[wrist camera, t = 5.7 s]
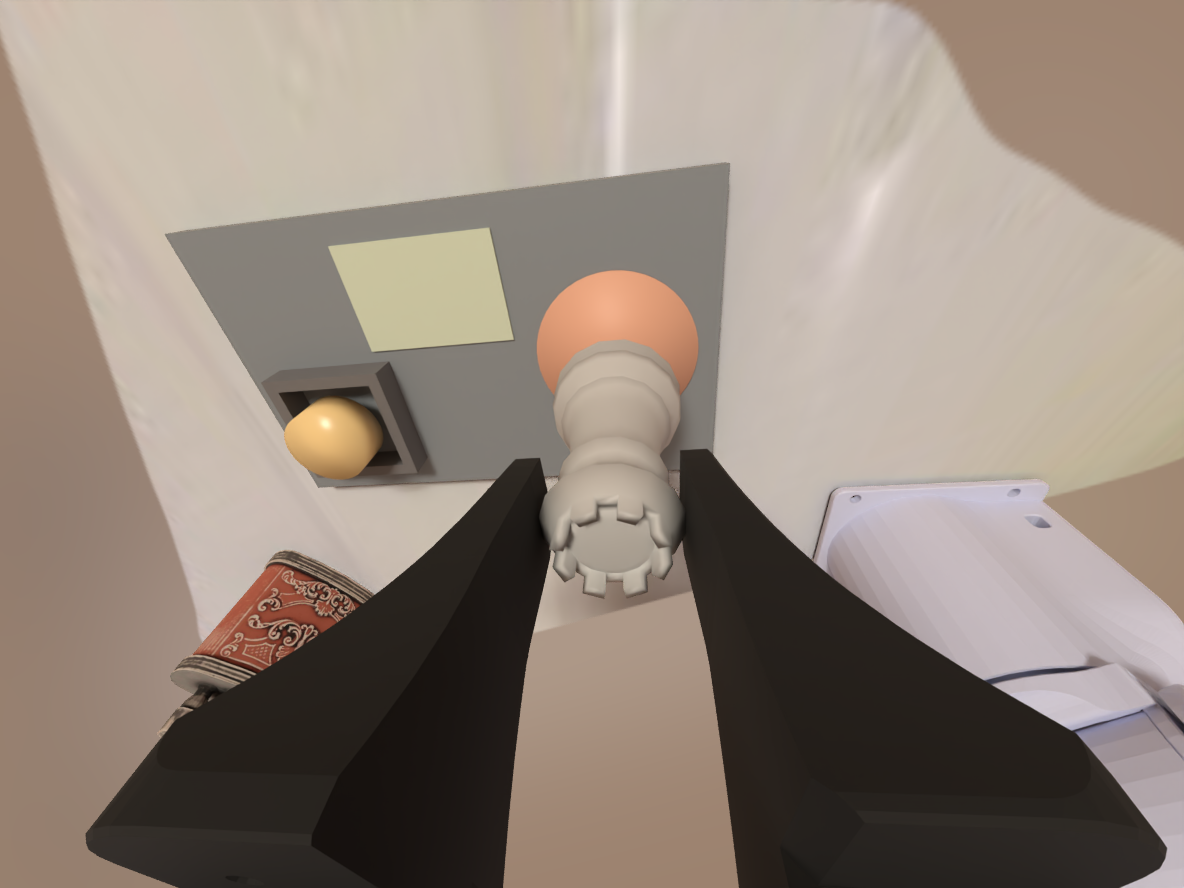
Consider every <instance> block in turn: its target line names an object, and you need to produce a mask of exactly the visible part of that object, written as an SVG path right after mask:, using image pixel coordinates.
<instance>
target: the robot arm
mask: <svg viewBox="0 0 1184 888" xmlns="http://www.w3.org/2000/svg"><path fill="white" fill-rule="evenodd" d="M1049 488H1050V487H1049V485H1048V484H1047V483H1045V482H1044V481H1043V480H1041V479H1023V480H999V481H976V482H953V483H929V484H906V485H883V486H859V487H842V488H838V489H836V490H835V491H834V492H833V493H832V494H831V497H830V501H829V505H828V508H827V512H826V516H825V520H824V523H823V527H822V531H821V534H820V538H819V542H818V546H817V549H816V553H815V557H814V560H813V561H812V560H811V559H810V558H809V557H807V556H806V555H805V554H804V553H803V552H802V551H801V550H800V549H798V548H797V547H796V546H795V545H794V544H793V543H792V542H791V541H790V540H789V539H788V538H787V537H786V536H785V535H784V534H783V533H782V532H781V531H779V530H778V529H777V528H776V527H775V526H774V525H773V524H772V523H771V522H770V521H769V520H768V519H767V518H766V516H765V515H764V514H763V513H762V512H761V511H760V510H759V509H758V508H757V507H756V506H755V505H754V504H753V503H752V501H751V500H750V499H749V498H748V497H747V496H746V495H745V494H744V493H743V491H742V490H741V489H740V488H739V487H738V486H737V484H736V483H735V482H734V481H733V480H732V478H731V477H730V476H729V475H728V473H727V472H726V471H725V470H724V468H723V467H722V466H721V465H720V463H719V462H718V461H717V459H716V458H715V457H714V455H713V454H712V452H710V451H709V450H708V449H692V450H680V501H681V503H682V505H683V506H684V508H685V510H686V534H685V536H684V537H683V539H682V541H683V549H684V556H685V560H686V564H687V569H688V573H689V577H690V581H691V586H692V590H693V594H694V598H695V602H696V606H697V611H698V615H699V619H700V623H701V627H702V632H703V636H704V640H705V644H706V649H707V654H708V660H709V664H710V671H711V678H712V685H713V692H714V699H715V705H716V713H717V720H718V727H719V735H720V741H721V749H722V756H723V764H724V772H725V779H726V787H727V795H728V802H729V810H730V817H731V826H732V834H733V842H734V850H735V858H736V866H737V874H738V883H739V888H1184V624H1183V623H1182V621H1181V620H1180V619H1179V617H1178V616H1177V615H1176V614H1175V613H1174V612H1173V611H1172V610H1171V608H1170V607H1169V606H1168V605H1167V604H1166V603H1164V602H1163V601H1162V600H1161V599H1160V598H1159V597H1158V596H1157V595H1156V594H1154V593H1153V592H1152V591H1151V590H1149V589H1148V588H1147V587H1146V586H1145V585H1144V584H1142V583H1141V582H1140V581H1139V580H1137V579H1136V578H1135V577H1133V576H1132V575H1131V574H1130V573H1129V572H1128V571H1127V570H1125V569H1124V568H1123V567H1122V566H1120V565H1119V564H1118V563H1117V562H1116V561H1114V560H1113V559H1112V558H1111V557H1109V556H1108V555H1107V554H1106V553H1105V552H1104V551H1102V550H1101V549H1100V548H1099V547H1098V546H1096V545H1095V544H1094V543H1092V542H1091V541H1090V540H1089V539H1088V538H1087V537H1085V536H1084V535H1083V534H1082V533H1081V532H1079V531H1078V530H1077V529H1076V528H1075V527H1073V526H1072V525H1071V524H1070V523H1068V522H1067V521H1066V520H1065V519H1064V518H1062V517H1061V516H1060V515H1059V514H1058V513H1056V512H1055V511H1054V510H1053V509H1052V508H1050V507H1049V506H1048V505H1047V504H1046V503H1044V502H1043V499H1044V497H1045V496H1046V494H1047V493H1048V491H1049ZM546 494H547V487H546V483H545V478H544V473H543V469H542V464H541V460H540V458H525V459H515V460H514V461H513V462H512V463H511V464H510V465H509V467H508V468H507V469H506V470H505V471H504V472H503V473H502V474H501V475H500V477H499V478H498V479H497V480H496V481H495V482H494V483H493V484H492V486H491V487H490V488H489V489H488V490H487V491H486V492H485V493H484V495H483V496H482V497H481V498H480V499H479V500H478V501H477V502H476V503H475V504H474V505H473V507H472V508H471V509H470V510H469V511H468V512H467V513H466V514H465V515H464V516H463V517H462V518H461V519H460V520H459V521H458V522H457V523H456V524H455V525H454V526H453V527H452V528H451V529H450V530H449V531H448V532H447V533H446V534H445V535H444V536H443V537H442V538H441V539H440V540H439V541H438V542H437V543H436V544H435V545H434V546H433V547H432V548H431V549H430V550H428V551H427V552H426V553H425V554H424V555H423V556H422V557H421V558H420V559H418V560H417V561H416V562H415V563H414V564H413V565H411V566H410V567H409V568H408V569H407V570H405V571H404V572H403V573H402V574H401V575H399V576H398V577H397V578H396V579H395V580H393V581H392V582H391V583H390V584H388V585H387V586H386V587H385V588H383V589H382V590H381V591H379V592H378V593H377V594H375V595H374V596H372V597H371V598H370V599H368V600H367V601H366V602H364V603H363V604H362V605H360V606H359V607H358V608H356V609H355V610H353V611H352V612H351V613H349V614H348V615H347V616H345V617H344V618H343V619H341V620H340V621H338V622H337V623H336V624H334V625H333V626H331V627H330V628H328V629H327V630H325V631H324V632H322V633H321V634H319V635H318V636H316V637H315V638H313V639H312V640H310V641H309V642H307V643H306V644H304V645H302V646H301V647H299V648H298V649H296V650H295V651H293V652H291V653H290V654H288V655H287V656H285V657H283V658H282V659H280V660H279V661H277V662H275V663H274V664H272V665H271V666H269V667H267V668H266V669H264V670H262V671H261V672H259V673H257V674H256V675H254V676H252V677H250V678H249V679H247V680H245V681H243V682H242V683H240V684H238V685H236V686H235V687H233V688H231V689H229V690H228V691H226V692H224V693H222V694H221V695H219V696H217V697H215V698H214V699H212V700H210V701H208V702H207V703H205V704H203V705H201V706H200V707H198V708H196V709H194V710H192V711H191V712H189V713H187V714H185V715H183V716H181V717H180V718H178V719H176V720H175V721H174V722H173V723H172V725H171V726H170V727H169V729H168V730H167V731H166V732H165V734H164V735H163V736H162V738H161V739H160V740H159V742H158V743H157V744H156V745H155V747H154V748H153V749H152V750H151V752H150V753H149V754H148V755H147V757H146V758H145V759H144V760H143V762H142V763H141V764H140V765H139V767H138V768H137V769H136V770H135V772H134V773H133V774H132V776H131V777H130V778H129V779H128V781H127V782H126V783H125V784H124V786H123V787H122V788H121V790H120V791H119V792H118V793H117V795H116V796H115V797H114V798H113V800H112V801H111V802H110V804H109V805H108V806H107V807H106V809H105V810H104V811H103V812H102V814H101V815H100V816H99V817H98V819H97V820H96V821H95V822H94V824H93V825H92V826H91V828H90V829H89V830H88V831H87V833H86V844H87V846H88V849H89V850H90V851H91V852H93V853H95V854H96V855H97V856H99V857H101V858H103V859H105V860H108V861H110V862H113V863H115V864H117V865H120V866H122V867H125V868H128V869H130V870H133V871H136V872H138V873H141V874H143V875H146V876H149V877H151V878H154V879H157V880H159V881H162V882H165V883H167V884H170V885H173V886H175V887H178V888H503V880H504V868H505V854H506V843H507V831H508V819H509V809H510V799H511V789H512V780H513V769H514V759H515V751H516V742H517V734H518V725H519V717H520V708H521V701H522V693H523V685H524V678H525V671H526V664H527V658H528V653H529V648H530V643H531V639H532V634H533V630H534V626H535V621H536V617H537V613H538V609H539V604H540V600H541V596H542V591H543V587H544V582H545V578H546V574H547V569H548V565H549V560H550V553H551V550H549V548H550V546H549V545H548V544H547V542H546V541H545V540H544V538H543V534H542V529H541V524H540V520H539V514H540V511H541V507H542V504H543V501H544V497H545V495H546ZM855 495H856V496H855ZM852 496H855V497H853V498H851V497H852Z"/></svg>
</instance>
